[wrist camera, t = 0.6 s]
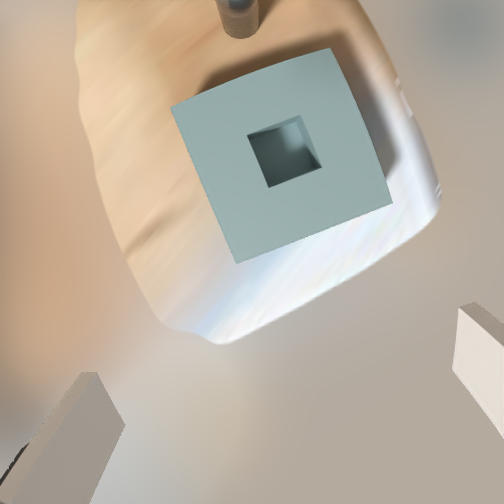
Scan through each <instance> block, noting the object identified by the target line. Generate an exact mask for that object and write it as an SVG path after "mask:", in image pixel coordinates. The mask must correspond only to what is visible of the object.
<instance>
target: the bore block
mask: <svg viewBox="0 0 504 504" xmlns="http://www.w3.org/2000/svg"><path fill="white" fill-rule="evenodd" d="M170 109H171V111H172V113H173V116H174V118H175V121H176V123H177V126H178V128H179V130H180V133H181V135H182V138H183V140H184V142H185V145H186V147H187V150H188V152H189V154H190V157H191V159H192V162H193V164H194V166H195V169H196V171H197V174H198V176H199V178H200V181H201V183H202V185H203V188H204V190H205V192H206V195H207V197H208V199H209V202H210V204H211V206H212V209H213V211H214V213H215V216H216V218H217V220H218V223H219V225H220V227H221V230H222V232H223V234H224V237H225V239H226V241H227V244H228V246H229V248H230V251H231V253H232V255H233V257H234V260H235V262H236V264H238V263H241V262H243V261H246V260H249V259H251V258H254V257H256V256H259V255H261V254H264V253H267V252H269V251H272V250H274V249H277V248H279V247H282V246H285V245H287V244H290V243H292V242H295V241H297V240H300V239H303V238H305V237H308V236H310V235H313V234H315V233H318V232H320V231H323V230H326V229H328V228H331V227H333V226H336V225H338V224H341V223H343V222H346V221H349V220H351V219H354V218H356V217H359V216H361V215H364V214H366V213H369V212H371V211H374V210H376V209H379V208H382V207H384V206H387V205H389V204H392V203H393V202H392V199H391V195H390V192H389V189H388V186H387V183H386V180H385V177H384V174H383V171H382V168H381V165H380V163H379V160H378V157H377V154H376V151H375V149H374V146H373V143H372V141H371V138H370V136H369V133H368V130H367V128H366V125H365V123H364V121H363V118H362V116H361V113H360V111H359V108H358V106H357V104H356V101H355V99H354V97H353V95H352V92H351V90H350V88H349V86H348V84H347V81H346V79H345V77H344V75H343V73H342V71H341V69H340V67H339V64H338V62H337V60H336V58H335V56H334V54H333V52H332V50H331V48H327V49H323V50H319V51H316V52H312V53H309V54H305V55H302V56H299V57H296V58H292V59H289V60H286V61H283V62H280V63H277V64H274V65H271V66H268V67H266V68H263V69H260V70H257V71H254V72H252V73H249V74H246V75H244V76H241V77H239V78H236V79H234V80H231V81H229V82H226V83H224V84H221V85H219V86H216V87H214V88H212V89H209V90H207V91H205V92H202V93H200V94H198V95H196V96H194V97H191V98H189V99H187V100H185V101H183V102H181V103H179V104H176V105H174V106H172V107H170Z"/></svg>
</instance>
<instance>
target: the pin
mask: <svg viewBox="0 0 504 504" xmlns="http://www.w3.org/2000/svg"><path fill="white" fill-rule="evenodd" d="M216 4H217V7H218V10H219V14H220V17H221V20H222V24H223V27H224V30H225V32H226V33H227V34H228V35H229V36H231V37H233V38H238V39H243V38H248V37H250V36H252V35H253V34H255V33H256V31H257V30H258V28H259V5H258V0H216Z"/></svg>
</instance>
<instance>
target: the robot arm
mask: <svg viewBox="0 0 504 504" xmlns="http://www.w3.org/2000/svg"><path fill="white" fill-rule="evenodd" d="M452 370H453V371H454V373H455V374H456V375H457V376H458V378H459V379H460V380H461V381H462V383H463V384H464V385H465V387H467V389H468V391H469V392H470V393H471V394H472V396H473V397H474V398H475V400H476V401H477V402H478V403H479V405H480V406H481V408H482V409H483V410H484V412H485V413H486V415H487V416H488V417H489V418H490V420H491V421H492V423H493V424H494V426H495V427H496V428H497V430H498V431H499V433H500V434H501V435H502V437H503V438H504V324H503V323H502V322H500V321H499V320H497V318H495V317H494V316H493V315H492V314H490V313H489V312H488V311H486V310H485V309H484V308H482V307H481V306H480V305H479V304H477V303H476V302H473V303H471V304H467V305H464V306H461V307H459V311H458V324H457V335H456V344H455V353H454V360H453V368H452ZM124 427H125V423H124V422H123V420H122V418H121V416H120V415H119V413H118V411H117V409H116V408H115V406H114V404H113V402H112V400H111V399H110V397H109V395H108V393H107V391H106V389H105V387H104V385H103V383H102V382H101V380H100V378H99V376H98V374H97V372H87V373H81V374H80V375H79V377H78V378H77V379H76V381H75V382H74V383H73V384H72V386H71V387H70V388H69V390H68V391H67V392H66V394H65V395H64V396H63V398H62V399H61V400H60V402H59V403H58V404H57V406H56V407H55V409H54V410H53V411H52V412H51V414H50V415H49V417H48V418H47V419H46V421H45V422H44V423H43V425H42V426H41V428H40V429H39V430H38V432H37V433H36V434H35V436H34V437H33V439H32V440H31V442H29V443H28V444H27V445H26V446H25V447H24V448H22V449H21V450H20V452H19V453H18V454H17V456H16V457H15V459H14V462H12V463H11V464H10V466H9V470H8V469H7V471H6V472H5V473H4V475H3V476H2V478H1V479H0V504H89V503H90V501H91V498H92V496H93V494H94V491H95V489H96V487H97V485H98V482H99V480H100V478H101V476H102V474H103V471H104V469H105V467H106V465H107V463H108V461H109V459H110V456H111V454H112V452H113V450H114V448H115V446H116V444H117V441H118V439H119V437H120V435H121V433H122V431H123V429H124Z"/></svg>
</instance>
